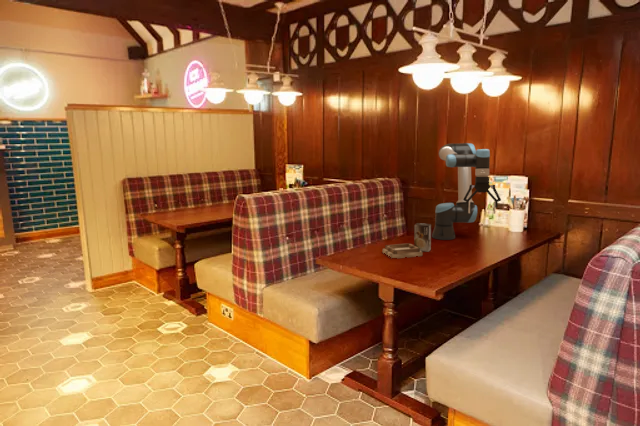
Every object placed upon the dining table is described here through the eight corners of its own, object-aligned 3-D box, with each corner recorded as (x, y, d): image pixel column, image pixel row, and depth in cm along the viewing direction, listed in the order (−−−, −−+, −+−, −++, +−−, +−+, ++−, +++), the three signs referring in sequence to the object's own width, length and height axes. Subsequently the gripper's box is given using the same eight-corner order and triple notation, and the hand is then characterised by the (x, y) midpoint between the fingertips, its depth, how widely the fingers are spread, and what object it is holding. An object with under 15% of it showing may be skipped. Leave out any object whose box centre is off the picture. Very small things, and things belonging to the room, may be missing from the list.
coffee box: (431, 249, 266) (432, 223, 263) (428, 252, 260) (429, 225, 257) (416, 247, 270) (417, 222, 267) (413, 250, 265) (414, 224, 262)
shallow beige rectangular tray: (382, 252, 260) (382, 245, 260) (411, 249, 265) (411, 242, 265) (392, 258, 247) (392, 251, 246) (422, 256, 252) (422, 248, 251)
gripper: (459, 176, 249) (459, 213, 250) (506, 175, 241) (505, 213, 242) (459, 176, 256) (458, 212, 257) (505, 176, 249) (504, 213, 250)
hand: (481, 213), depth 250 cm, fingers open, 13 cm apart
